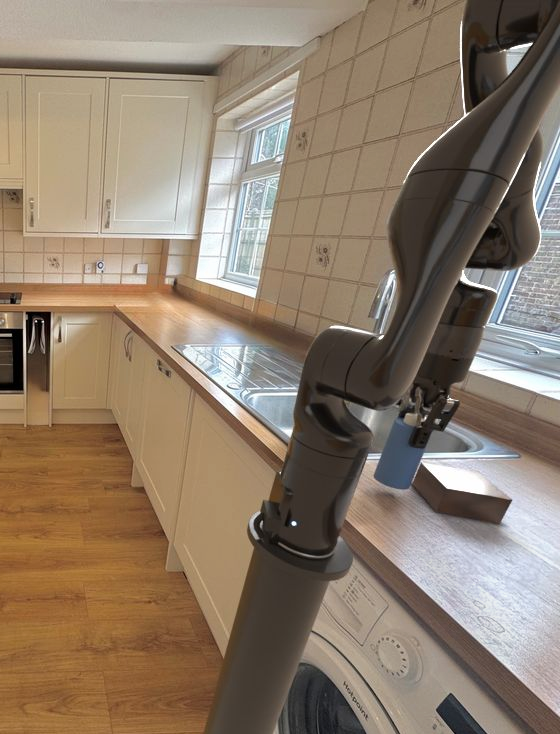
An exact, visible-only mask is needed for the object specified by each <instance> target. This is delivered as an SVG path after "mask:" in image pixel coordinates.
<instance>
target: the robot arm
mask: <svg viewBox="0 0 560 734" xmlns="http://www.w3.org/2000/svg"><path fill="white" fill-rule="evenodd" d="M459 36H460V37H459V38H460V39H459V41H460V42H459V44H460V45H459V47H460V48H459V51H460V69H461V86H462V87H461V89H462V100H463V101H462V102H463V111H464V116H463V117H462V118H461V119H460V120H458V121H457V122H456V123H455V124H453V126H451V127H450V128H449V129H448V130H447V131H445V132H444V133H443V134H442V135H441V136H440V137H439V138H437V140H435V141H434V142H433V143H432V144H431V145H430V146H429V147H428V148H427V149H426V150H425V151H424V152H423V153H421V155H420V156H419V157H418V158H417V160H416V161H415V162H414V163H413V165H412V166H411V168H410V169H409V170H408V173H407V175H406V177H405V180H404V181H403V183H402V186H401V188H400V190H399V193H398V194H397V197H396V199H395V200H394V203H393V205H392V207H391V209H390V213H389V214H388V217H387V220H386V224H385V225H386V226H385V227H386V230H385V234H386V241H387V246H388V252H389V255H390V259H391V263H392V267H393V270H394V274H395V280H396V288H397V289H396V292H397V293H396V295H397V296H396V302H395V307H394V310H393V314H392V317H391V320H390V322H389V324H388V327H387V329H386V331H385V333H380V332H374V331H370V330H366V329H361V328H357V327H351V326H346V325H330V326H328V327H326V328H324V329H323V330H322V331H320V333H318V334H317V335H316V337H315V338H314V339H313V340H312V342H311V344H310V346H309V347H308V349H307V352H306V354H305V357H304V361H303V364H302V368H301V373H300V377H299V383H298V388H297V393H296V398H295V402H294V407H293V412H292V419H293V427H292V431H291V434H290V438H289V441H288V442H289V443H288V445H287V448H286V452H285V457H284V460H283V463H282V467H281V470H277V471H276V473H275V475H274V478H273V483H272V486H271V490H270V494H269V497H268V500H267V499H262V502H261V507H260V510H259V511H260V514H259V515H258V516H257V517H256V518H255V520H254V523H253V526H254V530H255V532H256V533H257V535H258V537H259V538H264V537H265V535H264V533H263V531H262V530H261V528H260V523H261V522H262V521H263V526H264V530H265V531H266V533H267V537H268V541H269V543H270V544H272V545H276V546H279V547H280V548H281V549H283V550H285V551H287V552H288V553H290V554H293V555H295V556H298V557H301V558H304V559H308V560H326V559H328V558H330V557H331V556H332V555H333V553H334V551H335V546H336V544H337V541H338V537H339V536H341V535H340V534H341V531H342V528H343V527H344V523H345V520H346V517H347V515H348V512H349V510H350V507H351V504H352V501H353V499H354V495H355V492H356V490H357V487H358V484H359V482H360V481H359V480H360V479H361V476H362V473H363V471H364V468H365V465H366V462H367V459H368V457H369V455H370V451H371V449H372V447H373V443H374V433H373V431H372V429H371V428H370V427H369V426H368V425H367V424H366V423H364V422H363V421H362V420H361V419H360V418H359V417H358V416H356V414H355V413H354V412H353V411H352V409H350V407H349V408H348V406H347V404H346V403H345V401H344V400H346V401H349V402H350V403H352V404H354V405H357V406H361V407H363V408H367V409H369V410H372V411H378V412H382V411H386V410H389V409H390V408H391V409H392V408H393V407H394V406H397V407H398V408H397V412H398V415H397V418H405V416H406V414H407V413H413V414H417V415H418V416H417V423H416V426H415V428H414V430H413V433H412V435H411V438H410V440H409V443H408V444H409V445H410V446H411V447H413V448H420V449H424V448H425V447H426V445H427V442H428V440H429V438H430V439H431V437H430V435H431V433H432V431H433V432H434V431H437V432H445V430H446V428H447V426H448V425H449V423H450V422H451V420H452V419H453V417H454V415H455V413H456V412H457V410H458V409H459V407H460V404H461V401H460V400H457V399H452V398H451V397H450V395H451V388H452V385H454V384H458V383H463V382H464V381H465V380H466V378H467V376H468V373H469V370H470V368H471V366H472V364H473V362H474V360H475V357H476V354H477V353H478V350H479V348H480V346H481V342H482V339H483V336H484V331H485V328H486V326H487V325H488V324H487V323H488V321H489V319H490V317H491V314H492V312H493V310H494V307H495V305H496V303H497V300H498V296H499V295H498V292H497V290H495V289H494V288H491V287H488V286H485V285H481V284H477V283H474V282H471V281H469V280H468V279H467V278H466V276H465V274H464V271H465V269H470V270H481V271H493V272H494V271H496V272H497V271H498V272H511V271H515V270H518V269H520V268H522V267H524V266H526V265H527V264H528V263H529V262H531V260H533V258H534V257H535V256H536V254H537V253H538V250H539V249H540V244H541V240H542V234H541V233H542V232H541V225H540V222H539V218H538V214H537V210H536V204H535V203H536V202H535V189H536V185H537V181H538V177H539V172H540V169H541V165H542V160H543V154H544V136H543V133H542V131H541V129H540V125H541V123H542V122H543V119H544V117H545V115H546V113H547V112H548V110H549V108H550V107H551V104H552V103H553V101H554V99H555V98H556V96H557V94H558V93H559V91H560V0H465V3H464V8H463V12H462V17H461V24H460V35H459ZM523 47H528V48H527V50H526V51H525V53H524V54H523V55H522V56H521V58H520V60H519V62H518V63H517V64H516V66H514V68H513V69H512V70H511V72H510V73H509V71H508V63H507V57H508V56H507V54H508V51H509V50H515V49H518V48H523ZM425 417H426V420H425V422H424V419H425ZM432 434H433V433H432ZM431 436H432V435H431ZM429 441H430V440H429ZM428 443H429V442H428ZM427 446H428V445H427ZM426 448H427V447H426Z"/></svg>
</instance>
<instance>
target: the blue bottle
mask: <svg viewBox="0 0 560 734" xmlns="http://www.w3.org/2000/svg"><path fill="white" fill-rule="evenodd" d="M417 416H418V415H417V414H413V413H407V414H406V416H405V418H398V417H396V418H394V420H393V423H392V425H391V428H390V431H389V434H388V437H387V438H386V441H385V444H384V447H383V449H382V452H381V454H380V457H379V459H378V462H377V465H376V468H375V470H374V472H373V475H372V476H373V478H374V480H375V481H377V482H378V483H379V484H381V485H383V486H386V487H389V488H392V489H395V490H402V491H404V490H408V489H410V487H411V485H412V483H413V481H414V478H415V476H416V473H417V471H418V469H419V466H420V464H421V461H422V459H423V457H424V454H425V452H426V449H427V447H428V444H429V441H430V440H431V437H432V435H433V432H434V431H432V433H431V435H430V438H429V440H428V442H427V445H426V447H425V448H424V449H420V448H413V447H411V446H410V445H409V444H408V443H409V440H410V438H411V435H412V433H413V430H414V428H415V426H416V423H417ZM426 418H427V416H425V419H424V422H425V420H426Z"/></svg>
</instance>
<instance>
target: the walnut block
mask: <svg viewBox="0 0 560 734" xmlns="http://www.w3.org/2000/svg"><path fill="white" fill-rule="evenodd" d="M411 485H412V486H413V488H415V490H416V491H417V492H418V493H419V494H420V495H421V497H422V498H424V500H425V501H426V502H427V504H429V505H430V507H431V509H433V510H434V511H435V513H440V514H444V515H445V514H446V515H449V516H454V517H455V516H457V517H461V518H465V519H466V518H467V519H471V520H477V521H483V522H488V523H492V524H498V525H500V524H501V523H502V521H503V519H504V517H505V515H506V513H507V512H508V509H509V508H510V506H511V504H512V502H513V499H512V497H510V496H508V494H506V493H505V492H504V491H503V490H502V489H500V488H499V487H498V486H497V485H496V484H494V483H493V482H492V481H491V480H489V479H488V478H487V477H486V476H485V475H484V474H483V473H481V472H480V471H476V470H469V469H463V468H459V467H458V468H457V467H451V466H445V465H440V464H434V463H427V462H421V461H420V463H419V466H418V468H417V471H416V473H415V475H414V478H413V480H412V482H411Z"/></svg>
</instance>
